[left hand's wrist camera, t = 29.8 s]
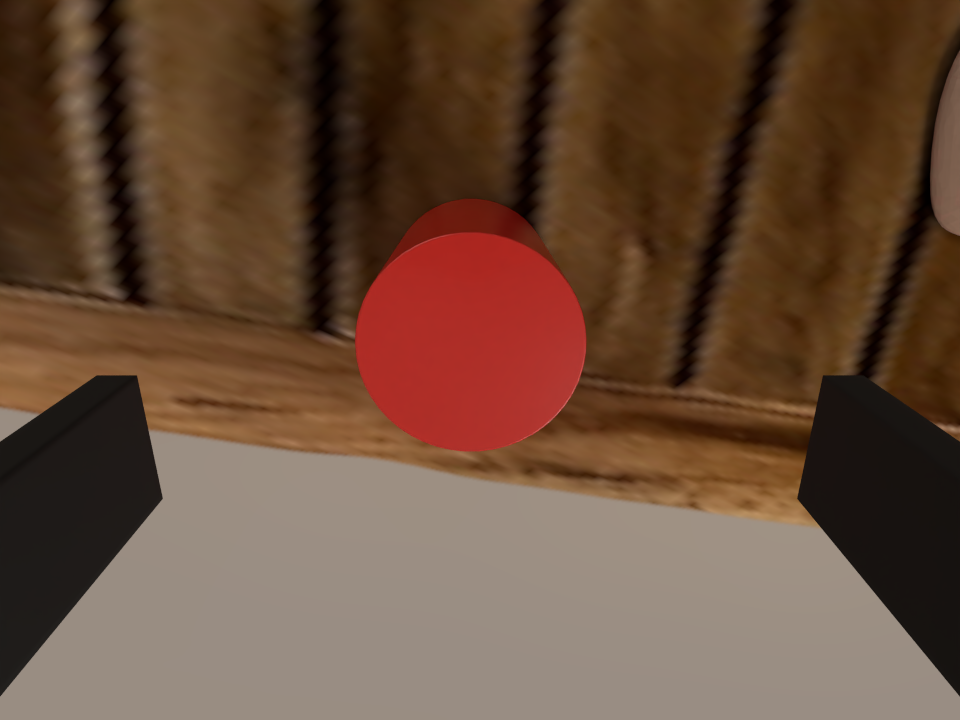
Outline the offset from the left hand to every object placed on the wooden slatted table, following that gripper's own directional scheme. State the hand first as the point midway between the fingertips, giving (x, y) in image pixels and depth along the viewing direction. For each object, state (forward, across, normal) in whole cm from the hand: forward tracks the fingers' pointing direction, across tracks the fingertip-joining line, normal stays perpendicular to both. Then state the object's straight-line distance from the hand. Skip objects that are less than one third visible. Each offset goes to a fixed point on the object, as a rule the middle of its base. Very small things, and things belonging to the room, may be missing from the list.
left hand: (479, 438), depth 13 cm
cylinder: (+17, 0, -1) cm, 17 cm away
